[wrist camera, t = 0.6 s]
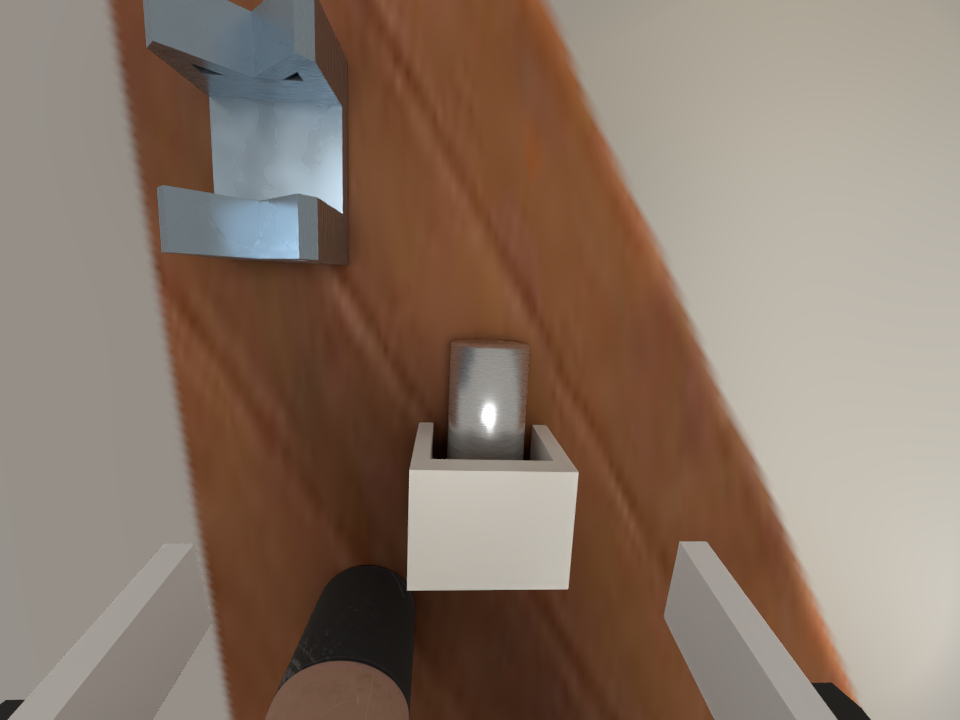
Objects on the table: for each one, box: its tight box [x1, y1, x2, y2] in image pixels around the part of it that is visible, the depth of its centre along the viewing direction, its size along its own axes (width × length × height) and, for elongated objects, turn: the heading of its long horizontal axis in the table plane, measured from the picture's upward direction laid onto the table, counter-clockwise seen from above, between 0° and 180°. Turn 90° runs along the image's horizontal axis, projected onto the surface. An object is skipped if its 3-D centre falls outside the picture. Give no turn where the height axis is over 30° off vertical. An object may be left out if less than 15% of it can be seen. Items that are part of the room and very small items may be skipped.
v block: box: [143, 0, 348, 265], centre depth 24 cm, size 12×7×8 cm, turn 177°
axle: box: [447, 339, 530, 460], centre depth 29 cm, size 10×5×5 cm, turn 177°
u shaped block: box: [407, 422, 579, 591], centre depth 28 cm, size 7×9×8 cm
